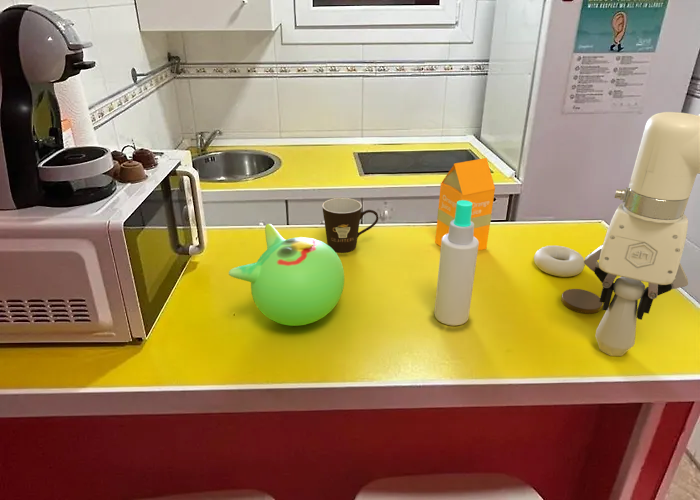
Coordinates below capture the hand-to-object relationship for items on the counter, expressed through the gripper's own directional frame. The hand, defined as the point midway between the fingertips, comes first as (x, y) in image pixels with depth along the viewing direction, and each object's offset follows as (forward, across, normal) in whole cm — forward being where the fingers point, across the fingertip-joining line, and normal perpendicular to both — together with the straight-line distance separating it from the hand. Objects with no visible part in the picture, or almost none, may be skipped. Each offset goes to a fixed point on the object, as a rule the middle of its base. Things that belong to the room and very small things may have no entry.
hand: (622, 309), depth 82 cm
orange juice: (+8, -33, +24) cm, 41 cm away
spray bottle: (+8, -26, -4) cm, 27 cm away
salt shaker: (+8, 0, 0) cm, 8 cm away
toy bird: (+8, -51, -16) cm, 54 cm away
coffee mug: (+8, -55, +11) cm, 57 cm away
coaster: (+8, -6, +12) cm, 15 cm away
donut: (+8, -12, +24) cm, 28 cm away
